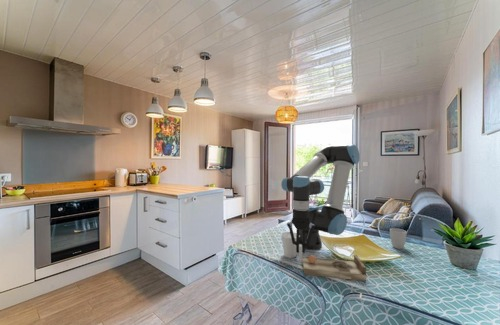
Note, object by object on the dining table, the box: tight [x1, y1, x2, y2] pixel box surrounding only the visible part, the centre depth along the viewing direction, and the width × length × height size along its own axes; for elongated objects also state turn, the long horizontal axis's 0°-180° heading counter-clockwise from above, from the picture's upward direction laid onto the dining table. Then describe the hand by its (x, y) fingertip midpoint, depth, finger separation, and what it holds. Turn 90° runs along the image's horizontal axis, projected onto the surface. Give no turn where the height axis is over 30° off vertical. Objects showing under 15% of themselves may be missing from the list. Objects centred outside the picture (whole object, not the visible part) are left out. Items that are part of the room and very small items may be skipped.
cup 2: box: [389, 227, 407, 250], centre depth 123 cm, size 8×8×10 cm
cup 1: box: [280, 231, 300, 259], centre depth 109 cm, size 10×10×11 cm
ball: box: [307, 254, 317, 264], centre depth 96 cm, size 4×4×4 cm
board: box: [301, 254, 367, 282], centre depth 94 cm, size 12×25×6 cm, turn 79°
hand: (300, 259), depth 97 cm, fingers closed
